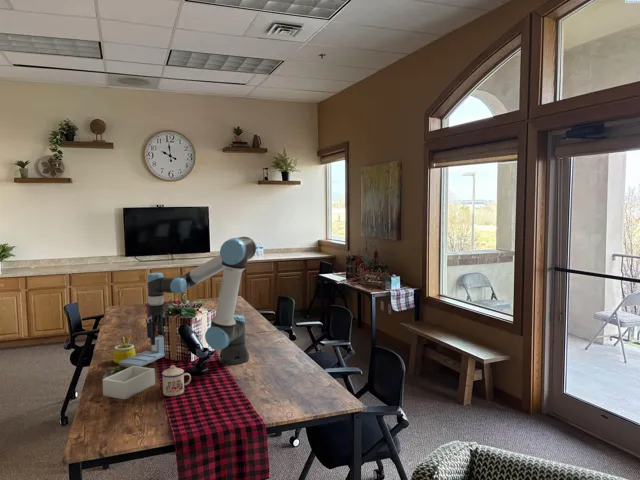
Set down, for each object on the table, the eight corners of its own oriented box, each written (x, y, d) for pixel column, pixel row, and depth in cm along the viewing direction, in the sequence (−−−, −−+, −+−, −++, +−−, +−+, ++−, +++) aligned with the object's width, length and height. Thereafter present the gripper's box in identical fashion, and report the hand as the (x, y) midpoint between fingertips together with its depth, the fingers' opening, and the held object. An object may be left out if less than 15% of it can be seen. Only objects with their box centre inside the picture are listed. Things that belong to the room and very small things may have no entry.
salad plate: (91, 379, 225) (90, 370, 225) (121, 367, 242) (121, 358, 241) (121, 386, 217) (121, 375, 217) (151, 373, 233) (151, 363, 233)
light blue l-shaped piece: (170, 355, 246) (169, 338, 246) (139, 369, 226) (138, 350, 225) (150, 352, 251) (150, 335, 250) (118, 366, 230) (118, 347, 230)
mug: (128, 365, 243) (127, 342, 242) (108, 364, 245) (107, 341, 245) (142, 357, 256) (141, 335, 255) (123, 356, 258) (122, 334, 257)
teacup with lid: (164, 398, 202) (163, 370, 201) (160, 390, 210) (159, 364, 209) (193, 392, 208) (192, 365, 207) (188, 385, 216) (187, 359, 215)
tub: (155, 384, 218) (154, 368, 217) (125, 399, 201) (124, 382, 201) (133, 380, 222) (133, 365, 222) (103, 395, 206) (102, 379, 205)
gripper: (161, 299, 254) (162, 343, 256) (138, 306, 238) (139, 353, 240) (173, 300, 251) (174, 345, 253) (150, 307, 235) (152, 355, 237)
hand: (157, 349), depth 246 cm, fingers closed on light blue l-shaped piece, 4 cm apart
